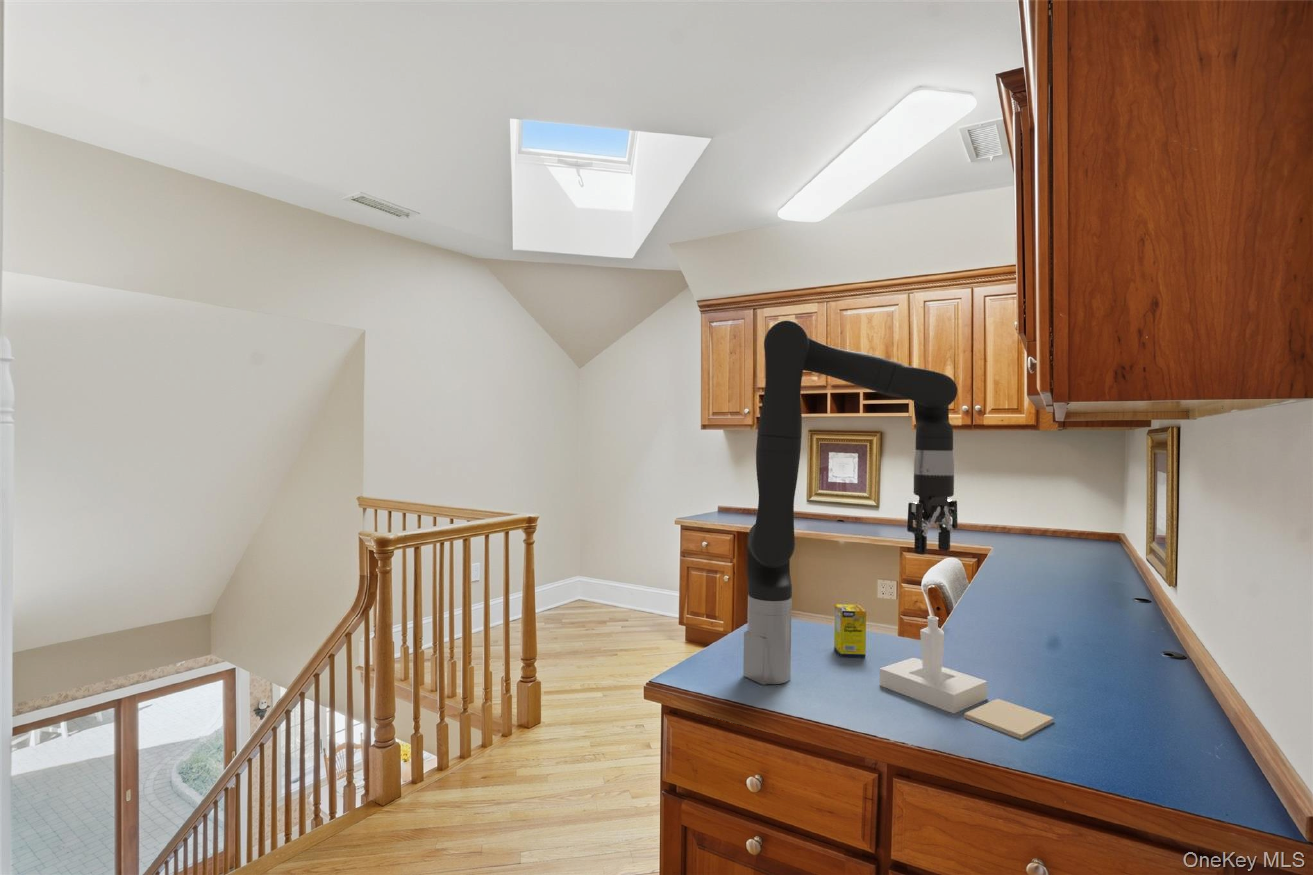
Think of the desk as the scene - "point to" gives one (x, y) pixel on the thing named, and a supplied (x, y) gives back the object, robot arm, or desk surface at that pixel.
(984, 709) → the mat
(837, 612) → the supplement box
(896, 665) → the rectangular block
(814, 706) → the desk surface
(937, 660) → the perfume bottle
